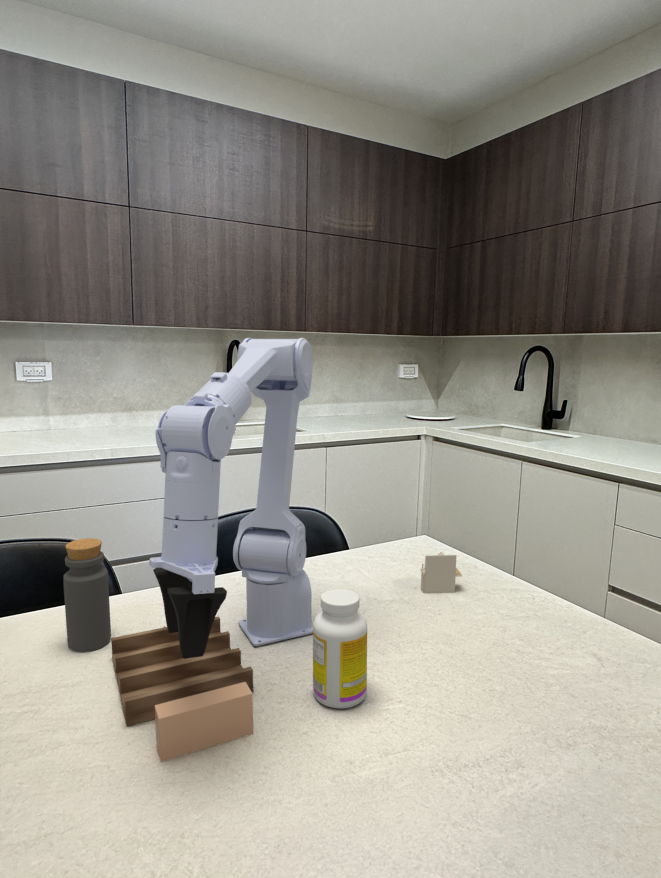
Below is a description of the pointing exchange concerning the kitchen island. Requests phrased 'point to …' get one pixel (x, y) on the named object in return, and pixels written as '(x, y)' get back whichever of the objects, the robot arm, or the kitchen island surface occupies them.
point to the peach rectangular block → (203, 720)
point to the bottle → (86, 596)
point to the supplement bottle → (340, 650)
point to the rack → (171, 670)
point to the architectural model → (439, 574)
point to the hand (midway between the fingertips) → (184, 643)
